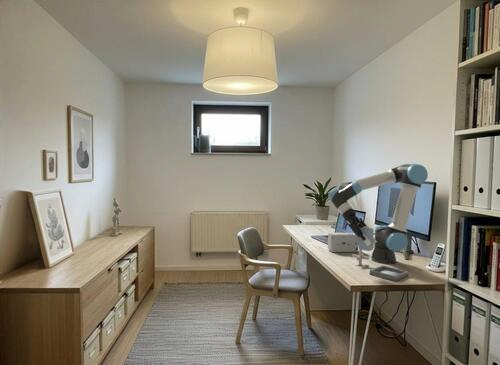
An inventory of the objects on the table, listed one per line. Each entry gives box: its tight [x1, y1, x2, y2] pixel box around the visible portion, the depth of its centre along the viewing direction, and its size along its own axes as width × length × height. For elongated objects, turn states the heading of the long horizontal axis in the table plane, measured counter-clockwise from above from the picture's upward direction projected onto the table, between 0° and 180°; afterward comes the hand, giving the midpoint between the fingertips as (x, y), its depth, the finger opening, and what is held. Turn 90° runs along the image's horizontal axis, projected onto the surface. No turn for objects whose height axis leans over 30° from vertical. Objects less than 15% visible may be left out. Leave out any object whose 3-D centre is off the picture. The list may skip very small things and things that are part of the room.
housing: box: [369, 265, 409, 282], centre depth 188 cm, size 15×15×2 cm
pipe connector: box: [351, 248, 370, 266], centre depth 207 cm, size 10×10×10 cm
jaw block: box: [358, 225, 374, 252], centre depth 189 cm, size 5×6×13 cm
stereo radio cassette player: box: [327, 224, 359, 253], centre depth 240 cm, size 21×8×20 cm, turn 94°
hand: (372, 243), depth 186 cm, fingers closed on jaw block, 5 cm apart
